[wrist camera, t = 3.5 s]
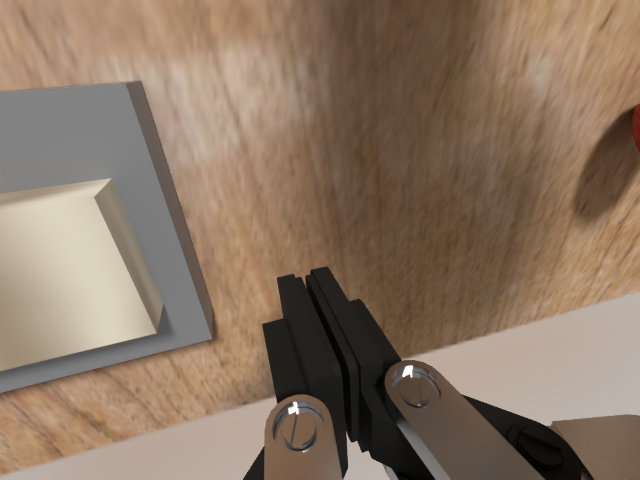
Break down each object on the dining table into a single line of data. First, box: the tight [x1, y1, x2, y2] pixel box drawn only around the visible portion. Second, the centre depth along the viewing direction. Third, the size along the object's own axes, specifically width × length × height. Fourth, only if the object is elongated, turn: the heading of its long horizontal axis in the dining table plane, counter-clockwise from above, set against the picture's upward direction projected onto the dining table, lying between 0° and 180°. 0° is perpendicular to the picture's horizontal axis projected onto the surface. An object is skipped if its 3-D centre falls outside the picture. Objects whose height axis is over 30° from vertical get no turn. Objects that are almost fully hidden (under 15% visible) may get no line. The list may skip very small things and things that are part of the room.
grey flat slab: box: [0, 81, 213, 393], centre depth 13 cm, size 14×12×2 cm
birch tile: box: [0, 178, 164, 371], centre depth 11 cm, size 8×6×2 cm
